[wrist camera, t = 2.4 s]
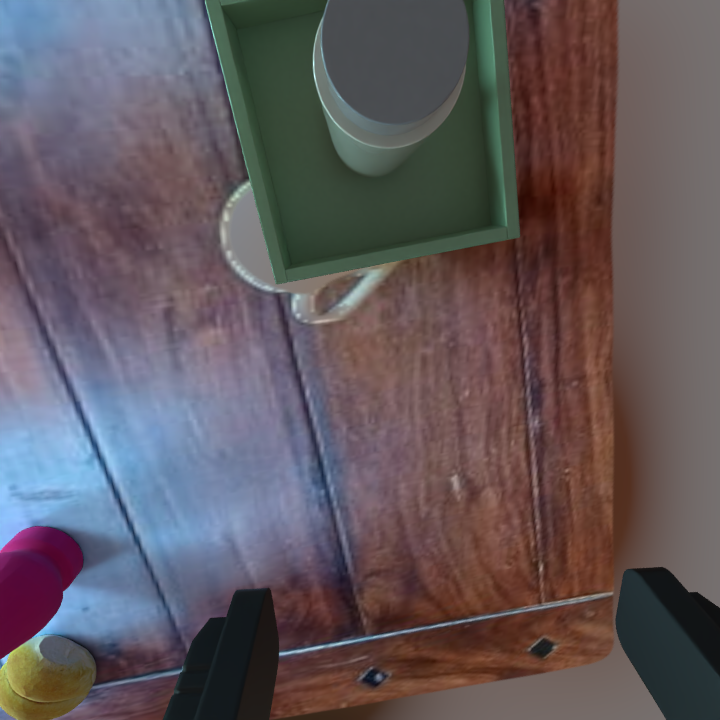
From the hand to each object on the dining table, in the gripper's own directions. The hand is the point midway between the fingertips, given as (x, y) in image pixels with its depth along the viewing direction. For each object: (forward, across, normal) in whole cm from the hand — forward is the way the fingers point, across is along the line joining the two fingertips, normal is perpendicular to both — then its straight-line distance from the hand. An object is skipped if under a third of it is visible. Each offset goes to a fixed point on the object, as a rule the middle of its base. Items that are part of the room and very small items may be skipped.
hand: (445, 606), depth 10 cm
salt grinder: (+24, 0, -13) cm, 27 cm away
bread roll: (+24, +34, +32) cm, 52 cm away
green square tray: (+24, 0, -13) cm, 28 cm away
